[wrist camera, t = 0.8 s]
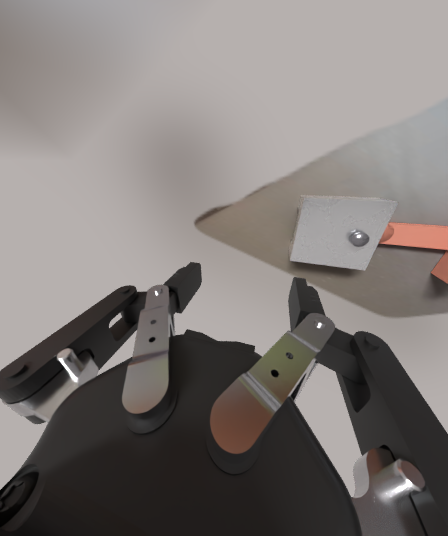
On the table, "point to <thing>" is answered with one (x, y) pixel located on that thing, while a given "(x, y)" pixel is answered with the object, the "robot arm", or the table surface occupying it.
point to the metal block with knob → (339, 230)
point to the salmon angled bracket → (420, 241)
